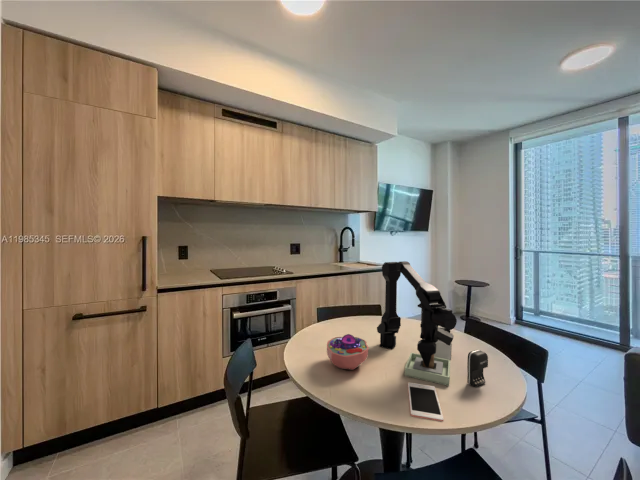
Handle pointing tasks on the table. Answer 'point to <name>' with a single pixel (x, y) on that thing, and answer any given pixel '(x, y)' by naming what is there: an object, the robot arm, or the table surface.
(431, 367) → the peg
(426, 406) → the cell phone
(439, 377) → the tray
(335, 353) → the cell model
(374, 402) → the table surface
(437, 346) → the medicine bottle
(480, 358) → the battery charger
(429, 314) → the robot arm
